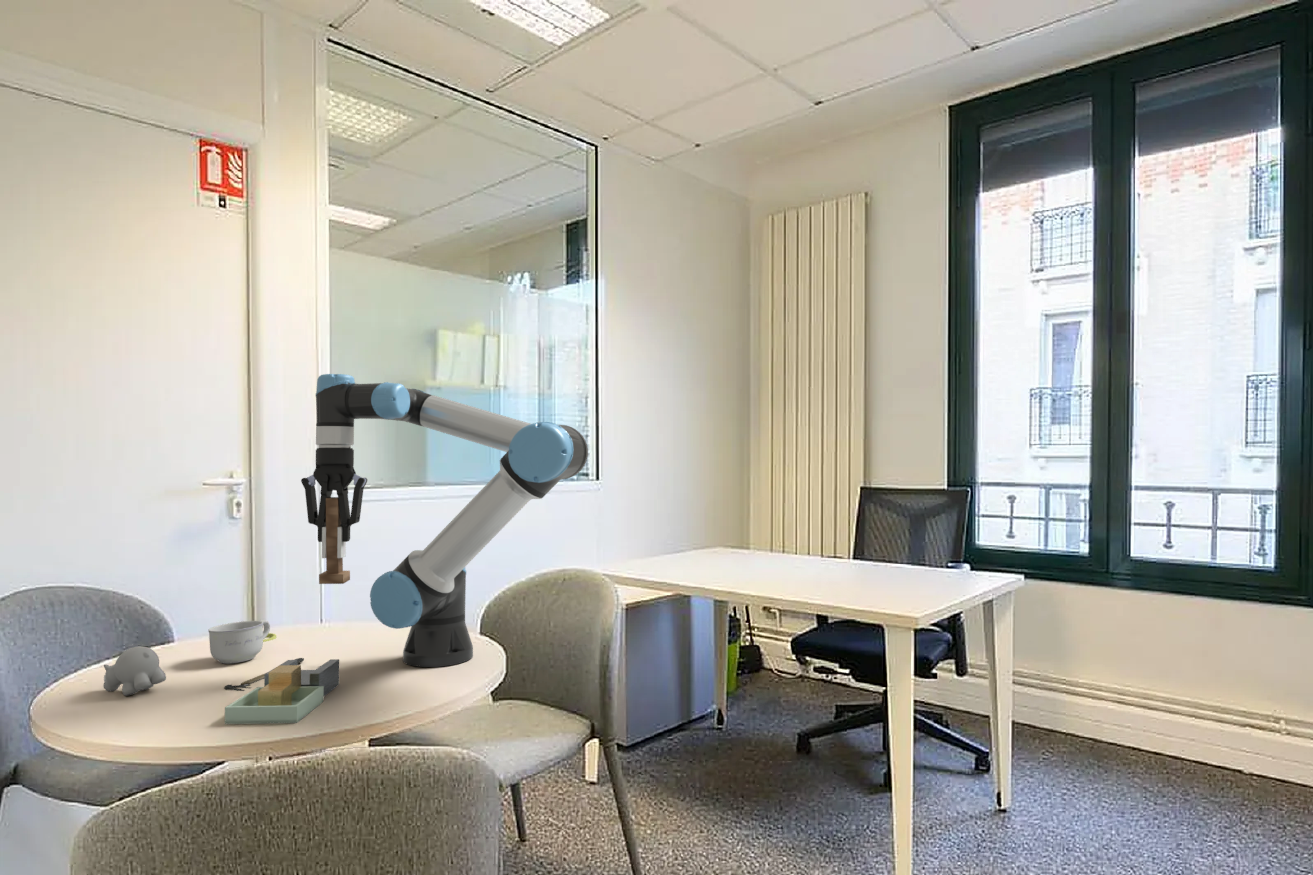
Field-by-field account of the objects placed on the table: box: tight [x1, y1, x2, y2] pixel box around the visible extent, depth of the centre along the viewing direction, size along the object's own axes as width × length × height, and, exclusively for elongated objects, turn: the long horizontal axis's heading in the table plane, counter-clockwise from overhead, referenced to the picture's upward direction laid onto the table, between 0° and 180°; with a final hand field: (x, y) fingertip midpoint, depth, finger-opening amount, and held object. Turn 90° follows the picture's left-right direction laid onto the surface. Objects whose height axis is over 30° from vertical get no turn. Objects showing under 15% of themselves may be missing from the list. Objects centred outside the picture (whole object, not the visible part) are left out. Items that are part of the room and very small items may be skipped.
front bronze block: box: [258, 683, 292, 706], centre depth 134 cm, size 4×4×4 cm
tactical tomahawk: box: [223, 657, 305, 692], centre depth 158 cm, size 21×7×1 cm, turn 166°
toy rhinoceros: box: [103, 646, 167, 697], centre depth 147 cm, size 7×12×8 cm, turn 75°
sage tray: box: [224, 686, 324, 725], centre depth 135 cm, size 12×12×3 cm
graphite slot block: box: [263, 658, 340, 698], centre depth 146 cm, size 10×10×5 cm
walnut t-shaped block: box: [318, 496, 351, 585], centre depth 162 cm, size 5×4×18 cm
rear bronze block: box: [268, 664, 302, 694], centre depth 138 cm, size 4×4×4 cm
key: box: [263, 632, 277, 643], centre depth 189 cm, size 7×12×2 cm, turn 81°
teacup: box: [207, 619, 271, 665], centre depth 171 cm, size 14×11×8 cm
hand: (333, 557), depth 162 cm, fingers closed on walnut t-shaped block, 2 cm apart
